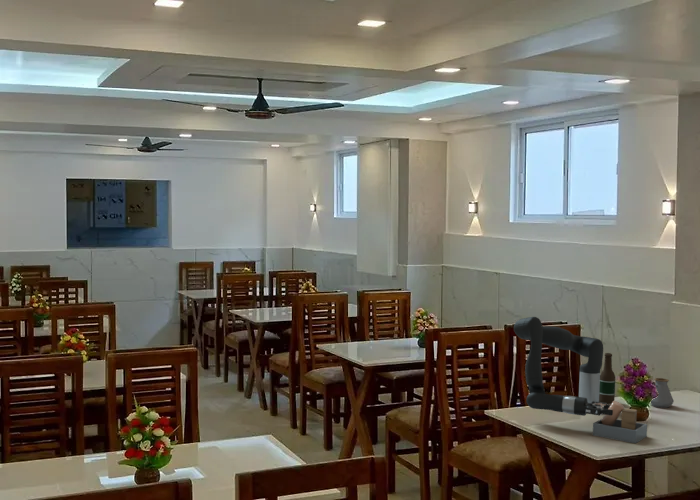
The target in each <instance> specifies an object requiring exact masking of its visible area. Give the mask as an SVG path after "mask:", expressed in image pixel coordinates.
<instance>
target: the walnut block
mask: <svg viewBox="0 0 700 500" xmlns="http://www.w3.org/2000/svg"><path fill="white" fill-rule="evenodd" d="M637 412H638V410H637V409H633V408H625V407H624V409H623V410H622V412H621V420H622V422H621V428H625V429H631V430H636V423H637V415H638V414H637Z"/></svg>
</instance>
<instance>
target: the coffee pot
mask: <svg viewBox="0 0 700 500" xmlns="http://www.w3.org/2000/svg"><path fill="white" fill-rule="evenodd" d="M654 380H655V383H654V384H655V385H656V388H657V391H658V393H659V395H658V397H657V398H655V399H653V400H652V401H651V403H650V404H651V406H653V407H656V408H662V409H663V408H664V409H666V408H670V406H672V405H673V404H674V399H673V396H672V393H671V391H670V388H669V385H668V383H669V381H670V380H669V379H667V378H662V377H655V378H654Z"/></svg>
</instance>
